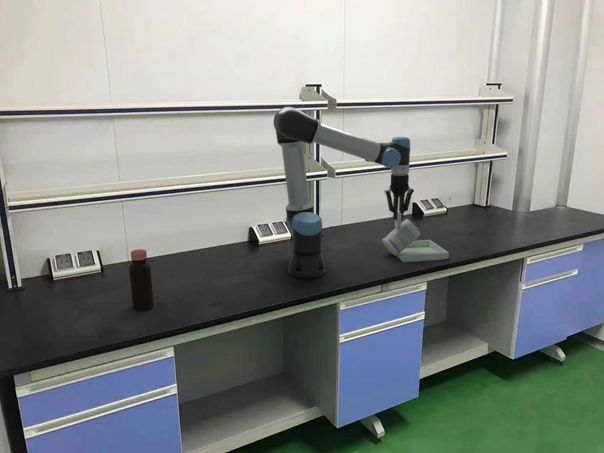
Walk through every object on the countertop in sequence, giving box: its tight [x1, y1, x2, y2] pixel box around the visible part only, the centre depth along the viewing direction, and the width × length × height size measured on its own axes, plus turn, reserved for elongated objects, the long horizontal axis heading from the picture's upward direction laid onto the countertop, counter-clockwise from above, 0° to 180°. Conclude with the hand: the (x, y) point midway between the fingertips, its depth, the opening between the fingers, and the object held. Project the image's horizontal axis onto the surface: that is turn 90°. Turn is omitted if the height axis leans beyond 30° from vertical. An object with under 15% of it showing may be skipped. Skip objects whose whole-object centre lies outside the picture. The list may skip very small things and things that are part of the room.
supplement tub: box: [381, 218, 421, 256], centre depth 218 cm, size 10×10×15 cm
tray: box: [394, 239, 450, 264], centre depth 222 cm, size 21×18×3 cm
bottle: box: [128, 248, 155, 312], centre depth 164 cm, size 7×7×20 cm
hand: (397, 226), depth 216 cm, fingers closed
